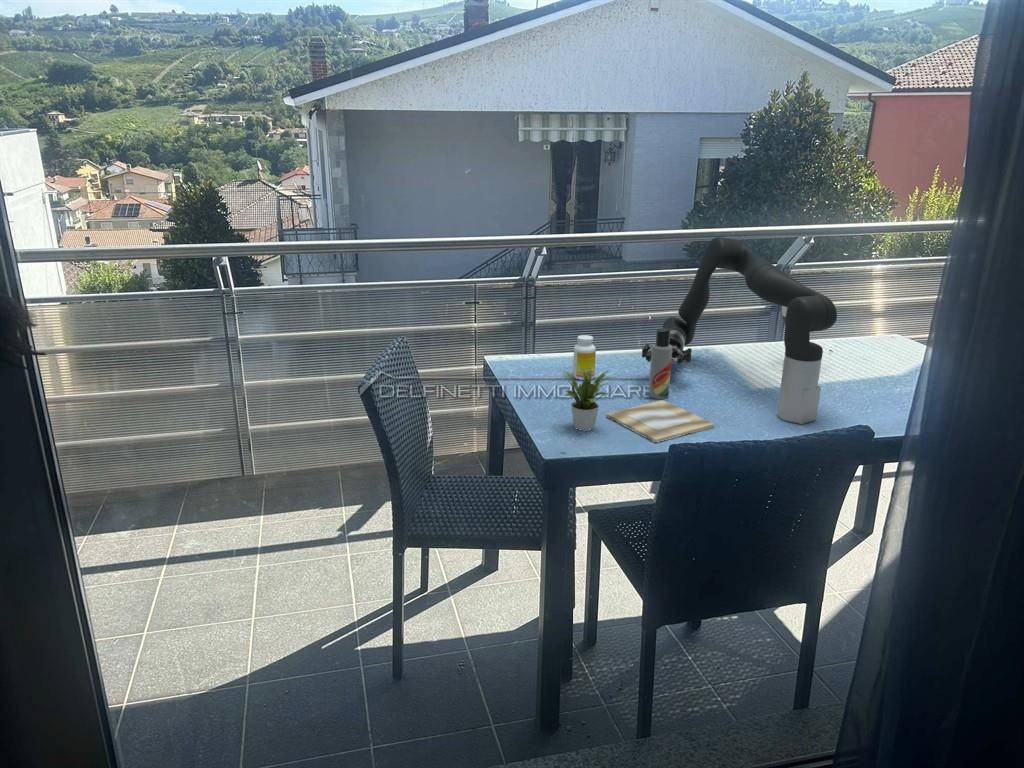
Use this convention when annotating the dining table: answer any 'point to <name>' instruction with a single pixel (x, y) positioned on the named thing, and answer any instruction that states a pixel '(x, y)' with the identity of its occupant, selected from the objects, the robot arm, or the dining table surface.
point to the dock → (660, 420)
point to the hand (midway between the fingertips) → (663, 360)
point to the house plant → (585, 400)
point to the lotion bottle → (660, 365)
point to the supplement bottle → (584, 357)
